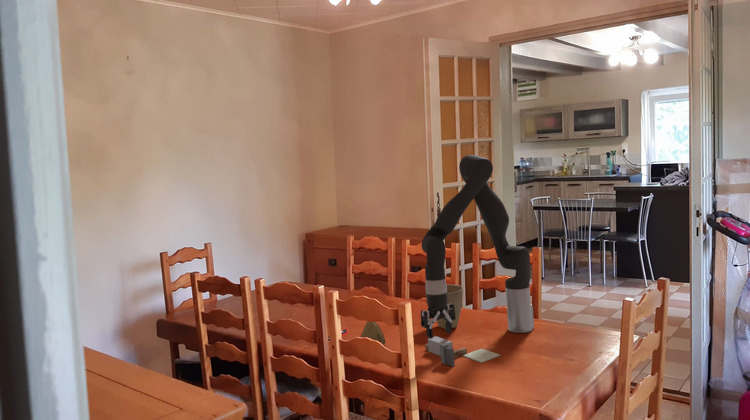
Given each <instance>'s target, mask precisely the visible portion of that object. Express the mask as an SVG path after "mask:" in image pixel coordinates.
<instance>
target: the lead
mask: <svg viewBox="0 0 750 420" xmlns="http://www.w3.org/2000/svg"><path fill="white" fill-rule="evenodd" d="M443 343H445V344H448V347H450V348H453V349H454V347H453V341H451V340H448V339H446V338H442V337H439V336H436V335H435V336H433V338H432V339H430V338H427V344H428V349H429V350H428V353H430V352H432V353H431V354H433V353H434V354H433V355H436V354H437V355H436V356H438V355H439V356H438V357H441V354H440V344H443Z"/></svg>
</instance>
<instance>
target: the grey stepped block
mask: <svg viewBox="0 0 750 420" xmlns="http://www.w3.org/2000/svg"><path fill="white" fill-rule="evenodd" d="M454 351H455V349H454V347H453V348H450V347H448V344H445V343H443V344H440V354H441V356H440V362H441V364H442V363H443V365H445V364H447V366H449V365H450V366H449V367H451V366H453V367H456V366H455V365H456V364H455V362H456V361H455V358H454Z"/></svg>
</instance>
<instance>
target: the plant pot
mask: <svg viewBox="0 0 750 420" xmlns="http://www.w3.org/2000/svg"><path fill="white" fill-rule="evenodd" d="M446 285H447V299H448V303H451V304H454V307H455V316H456V319H455V320H453V321H452V323H451V326H452V329H455V328H457V327H458V324H459V320H460V316H461V313H462V312H461V310H462V306H463V295H464V294H463V293H464V291H463V290H464V287H463V286H462V285H459V284H446ZM448 303H447V304H448ZM447 314H448V310H447ZM448 315H449V314H448ZM445 322H446V321H445V320H444V319H439V320H436V323H437V325H438V327H439V328H440V327H441V328H440V329H442V328H444V330H446V328H445Z"/></svg>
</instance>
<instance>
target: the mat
mask: <svg viewBox="0 0 750 420" xmlns="http://www.w3.org/2000/svg"><path fill="white" fill-rule="evenodd" d="M500 356H501V354H499V353H496V352H493V351H491V350H487V349H484V348H480V349H477V350H473V351H471V352H469V353H468V352H467V354H465V355H463V356H462V357H464V358H467V359H469V360H472V361H475V362H477V363H479V364H480V363H484V362H487V361H489V360H492V359H495V358H498V357H500Z"/></svg>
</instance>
